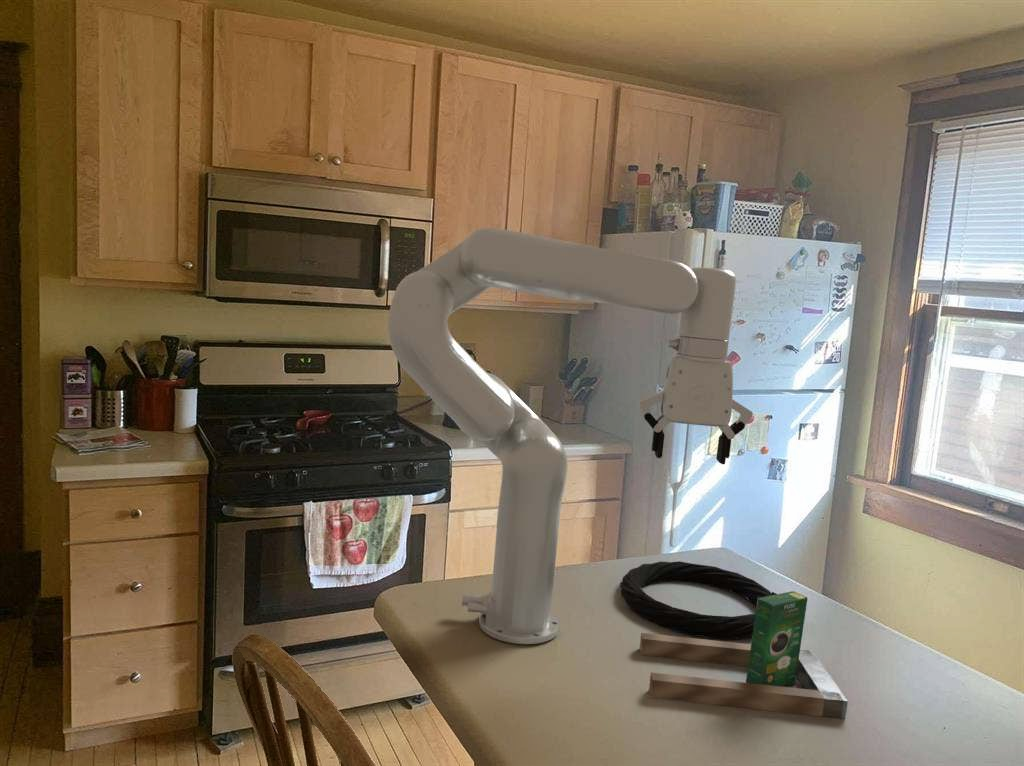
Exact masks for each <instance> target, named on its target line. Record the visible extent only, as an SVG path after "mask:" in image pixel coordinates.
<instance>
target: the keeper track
mask: <svg viewBox="0 0 1024 766" xmlns="http://www.w3.org/2000/svg"><path fill="white" fill-rule="evenodd" d="M750 650H751V644H749V643H742V642H733V641H721V640H712V639H703V638H694V637H685V636H676V635H675V636H673V635H666V634H657V633H655V634H654V633H647V632H641V633H640V642H639V652H640V655H641V656H649V657H650V656H651V657H658V658H667V659H668V658H669V659H680V660H687V661H696V662H705V661H706V663H714V662H716V663H717V664H723V663H726V664H725V665H732V664H733V665H734V666H743V665H744V667H748V663H749V657H750ZM716 663H715V664H716ZM733 665H732V666H733ZM649 677H650V678H649V686H648V687H649V688H648V692H649V696H650V698H651V699H659V700H660V699H661V700H670V701H678V702H687V703H697V704H708V705H715V706H725V707H733V708H735V707H736V708H743V709H752V710H760V711H769V712H779V713H788V714H796V715H807V716H816V717H825V718H832V719H833V718H834V719H840V720H841V719H843V720H846V716H847V709H848V702H849V701H848V699H847V698H846V696H845V694H844V693H843V692H842V691H841V690H840V688H839V686H838V685H837V683H836V682H835V681H834V679H833V678H832V676H831V675H830V674H829V672H828V671H827V670H826V668H825V667H824V665H823V664H822V662H821V661H820V659H819V658H818V657H817V655H816V654H815V652H814V651H813V650H807V649H800V653H799V660H798V667H797V675H796V678H798V680H799V682H800V683H801V685H802V686H803V688H800V687H799V688H798V687H789V686H784V687H781V686H771V685H762V684H753V683H746V682H742V681H733V680H723V679H715V678H705V677H697V676H688V675H687V676H686V675H676V674H671V673H670V674H668V673H659V672H650V676H649Z"/></svg>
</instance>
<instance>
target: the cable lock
mask: <svg viewBox="0 0 1024 766" xmlns="http://www.w3.org/2000/svg"><path fill="white" fill-rule="evenodd" d="M660 580H671V581H682V582H689V581H691V582H690V583H701V582H702V583H701V584H704V583H705V584H704V585H708V584H709V586H712V585H713V586H712V587H715V586H716V588H722V589H724V588H726V589H725V590H727V589H728V590H727V591H729V590H731V591H730V592H732V591H733V592H735V593H734V594H736V595H739V596H742V597H744V598H745V597H747V598H748V599H749V600H750V601H749V600H748V599H747V598H746V599H747V600H748V601H749V602H751V603H752V604H754V605H755V606H756V607H757V600H758V598H761V597H767V596H772V595H777V594H778V593H776V592H774V591H772V592H771V590H769V589H768V588H766V587H764V586H763V585H761V584H760V583H758V582H757V581H755V580H754V579H752V578H749V577H747V576H745V575H742V574H740V573H739V572H735V571H729V570H728V569H727V570H726V569H723V568H721V567H718V566H712V565H704V564H696V563H690V562H685V561H657V562H652V563H642V564H640V565H639V566H638V567H635V568H631V569H629V571H628V572H627V573H626V574H625V575H623V577H622V580H621V582H620V584H619V588H620V595H621V597H622V598H623V599H624V601H625V603H626V605H627V606H628V607H629V608H630V609H632V610H633V612H635V613H636V614H637V615H639V616H640V617H643V618H645V619H647V620H649V621H651V622H653V623H654V624H656V625H658V626H660V627H662V628H667V629H671V630H674V631H678V632H679V633H683V634H684V633H685V634H687V635H690V636H694V637H695V636H696V637H705V638H713V639H723V640H724V639H748V638H752V636H753V629H754V622H755V615H756V612H755V613H749V614H743V615H736V616H727V615H711V614H702V613H697V612H694V611H691V610H690V611H689V610H685V609H680V608H678V607H674V606H672V605H669V604H667V603H664V602H662V601H659V600H656V599H655V598H653V597H651V596H650V595H648V594H647V593H645V591H644V590H643V589H642V588H643V587H644V586H645V585H648V584H652V582H653V583H656V582H661V581H660ZM733 592H732V593H733Z"/></svg>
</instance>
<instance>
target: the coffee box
mask: <svg viewBox="0 0 1024 766" xmlns="http://www.w3.org/2000/svg"><path fill="white" fill-rule="evenodd" d="M776 594H777V595H772V596H767V597H761V598H758V600H757V606H756V607H755V613H756V615H755V622H754V629H753V636H752V637H751V642H750V643H751V650H750V657H749V663H748V666H747V671H746V679H745V683H753V684H762V685H771V686H781V687H789V686H790V685H793V684H795V683H796V680H797V667H798V660H799V653H800V650H801V644H802V639H803V638H802V637H803V633H804V632H803V631H804V626H805V625H804V624H805V619H806V611H807V607H808V606H807V604H808V597H807V596H805V595H803V594H801V593H798V592H796V591H787V592H782V593H776Z"/></svg>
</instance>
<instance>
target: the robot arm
mask: <svg viewBox="0 0 1024 766" xmlns="http://www.w3.org/2000/svg"><path fill="white" fill-rule="evenodd" d="M735 275H736V274H734V272H733V271H731V270H730V269H724V268H714V267H693V268H690V267H689V266H687V265H686V264H685V263H682V262H680V261H675V260H671V259H665V258H659V257H653V256H648V255H643V254H642V255H641V254H636V253H631V252H627V251H626V252H625V251H621V250H619V251H618V250H613V249H608V248H602V247H599V246H594V245H589V244H584V243H580V242H573V241H569V240H563V239H557V238H551V237H545V236H541V235H536V234H529V233H524V232H519V231H513V230H509V229H503V228H497V227H483V228H478V229H476V230H475V231H473V232H472V233H471V234H470V235H469V236H467V237H466V238H465V239H464V240H463V241H461V242H460V243H458V244H457V245H455V246H454V247H453V248H451V249H450V250H448V251H446V253H444V254H443V255H441V256H439V257H438V258H436V259H434V260H432V261H431V262H430V263H428V264H426V265H425V266H423V267H421V268H419V269H418V270H417V271H414V272H412V273H409V274H408V275H406V276H405V277H403V279H401V280H400V282H399V284H398V285H397V286H396V289H395V290H394V293H393V297H392V300H391V304H390V307H389V311H388V317H387V318H388V319H387V333H388V339H389V343H390V347H391V349H392V352H393V354H394V356H395V358H396V360H397V362H398V363H399V365H400V366H401V367H402V368H403V370H404V371H405V372H406V373H407V375H408V376H410V378H411V379H412V380H413V381H414V382H415V383H417V385H419V387H420V388H421V389H422V390H423V391H424V392H425V393H426V394H427V395H428V397H429V398H431V400H432V401H433V402H435V403H436V405H438V407H439V408H440V409H442V411H443V412H444V413H445V414H446V415H447V416H448V417H450V419H451V420H452V421H454V423H455V424H456V426H457V427H458V428H459V429H460V430H461V432H463V433H464V434H466V435H467V436H469V437H471V438H472V439H475V440H478V441H480V442H481V443H482V444H483V445H484V446H485V447H486V448H487V449H488V450H489V451H490V452H491V453H492V454H493V455H494V456H495V457H496V458H497V459H498V460H499V461H500V463H501V466H502V471H501V472H502V474H501V475H502V476H501V484H500V493H499V497H498V508H497V518H496V531H495V533H496V534H495V543H494V545H495V546H494V556H493V558H494V559H493V569H492V582H491V588H490V590H489V593H483V594H482V595H476V594H472V593H465V592H464V593H462V598H461V599H462V601H461V607H467V612H468V613H479V616H478V625H479V628H480V629H481V630H482V631H483V632H484V634H486V635H488V636H489V637H491V638H493V639H496V640H498V641H501V642H503V643H504V642H505V643H509V644H517V645H537V644H542V643H546V642H548V641H550V640H552V639H554V638H555V637H557V635H558V634H559V632H560V621H559V618H557V616H556V615H555V614H554V613H552V606H553V605H552V604H553V593H554V583H555V571H556V563H557V562H556V560H557V551H558V539H559V528H560V517H561V510H562V509H561V508H562V503H563V496H564V492H565V486H566V483H567V475H568V458H567V454H566V451H565V449H564V446H563V443H562V442H561V441H560V439H559V438H558V437H557V435H556V434H555V433H554V432H553V431H552V430H551V428H550V427H548V425H547V424H546V423H545V422H544V421H543V420H542V419H541V418H540V417H539V416H538V415H537V414H536V413H535V412H534V411H533V410H532V409H531V408H530V407H529V406H528V405H527V404H526V403H525V402H524V401H523V400H522V398H520V397H519V396H518V395H517V394H516V393H515V392H514V391H513V390H512V389H511V388H510V387H509V386H508V385H507V384H506V383H505V382H504V381H503V380H502V379H501V378H499V377H498V376H496V375H495V374H493V373H490V372H487V371H486V370H485V369H484V368H483V367H482V366H481V365H479V363H477V361H475V359H473V358H472V356H471V355H470V354H469V353H468V351H467V350H465V349H464V347H462V345H460V344H459V343H458V341H456V340H455V339H454V337H453V336H452V334H451V332H450V329H449V327H448V326H449V325H448V319H449V317H450V315H451V314H453V313H454V312H456V311H457V310H459V309H461V308H462V307H463V306H465V305H467V304H468V303H470V302H471V301H473V300H475V299H476V298H477V297H479V296H481V295H482V294H483V293H485V292H487V291H488V290H490V289H491V288H496V289H501V290H506V291H513V292H519V293H525V294H530V295H536V296H537V295H538V296H542V297H547V298H553V299H557V300H558V299H559V300H566V301H570V302H577V303H578V302H579V303H597V304H598V303H600V304H608V305H614V306H619V307H625V308H631V309H637V310H643V311H646V312H651V313H657V314H663V315H668V316H669V315H679V314H680V318H679V325H678V326H679V327H678V335H677V337H675V338H673V339H668V340H667V348H668V349H672V350H674V351H675V353H676V354H675V355H671V358H670V362H669V364H668V367H667V371H666V376H665V379H664V380H665V381H664V386H663V390H662V391H660V392H658V393H654V394H653V395H650V396H647V397H645V398H642V399H640V400H639V401H638V406H639V408H640V410H641V413H642V417H643V418H644V420H645V421H646V422H647V423H648V425H649V426H650V427H651V428H652V430H653V432H652V440H651V452H654V455H655V457H656V459H661V458H663V450H664V443H665V433H664V429H665V428H666V427H668V425H669V424H670V423H676V424H684V425H695V426H705V427H718V429H720V431H721V434H720V436H719V435H718V442H717V448H716V449H717V450H716V456H715V457H716V461H717V462H718V463H719V464H721V465H725V464H726V461H727V459H730V453H731V448H732V447H731V446H732V440H733V439H734V438H735V436H736V435H738V434H739V433H740V432H742V431H743V430H744V429H745V427H746V426H747V424H748V423H749V422H750V420H751V418H752V417H753V416H754V415H753V411H751V410H750V409H748V408H747V407H745V406H744V405H742V404H740V403H739V402H737V401H735V400H734V399H733V391H734V384H733V383H734V382H733V381H734V374H733V373H734V372H733V371H734V370H733V362H732V361H730V360H727V358H728V351H729V343H730V333H731V332H730V331H731V324H732V317H733V316H732V315H733V309H734V300H735V292H736V283H737V280H736V276H735ZM659 403H661V404H660V413H661V414H660V415H659V416H658V417H657V418H655V417H654V416H653V414H652V412H651V410H650V408H651V406H653V405H657V404H659ZM732 409H733V411H735V412H737V413H738V414H739V417H738V419H736V421H735V422H733V423H731V425H729V423H730V422H731V419H732Z"/></svg>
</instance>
